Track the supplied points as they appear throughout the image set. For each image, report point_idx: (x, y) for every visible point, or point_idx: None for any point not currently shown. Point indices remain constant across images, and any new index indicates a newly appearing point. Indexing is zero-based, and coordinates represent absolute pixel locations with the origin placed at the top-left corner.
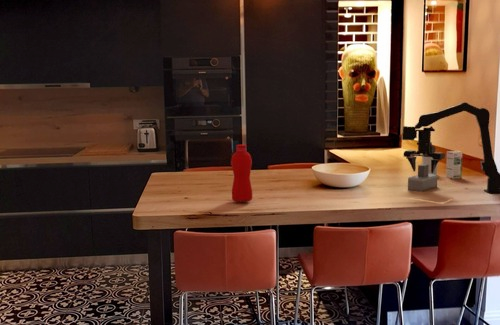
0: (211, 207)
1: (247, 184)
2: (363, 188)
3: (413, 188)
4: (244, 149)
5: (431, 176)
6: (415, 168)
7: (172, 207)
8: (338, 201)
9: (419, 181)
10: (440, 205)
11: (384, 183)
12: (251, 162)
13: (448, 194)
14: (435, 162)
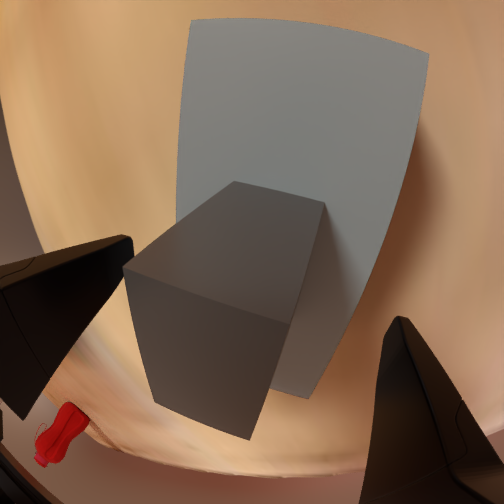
0: (98, 433)
1: (76, 435)
2: None
3: None
4: (46, 464)
5: (377, 244)
6: (106, 252)
7: None
8: (162, 438)
9: None
10: None
11: (55, 161)
12: (58, 454)
13: (473, 341)
14: (445, 493)
